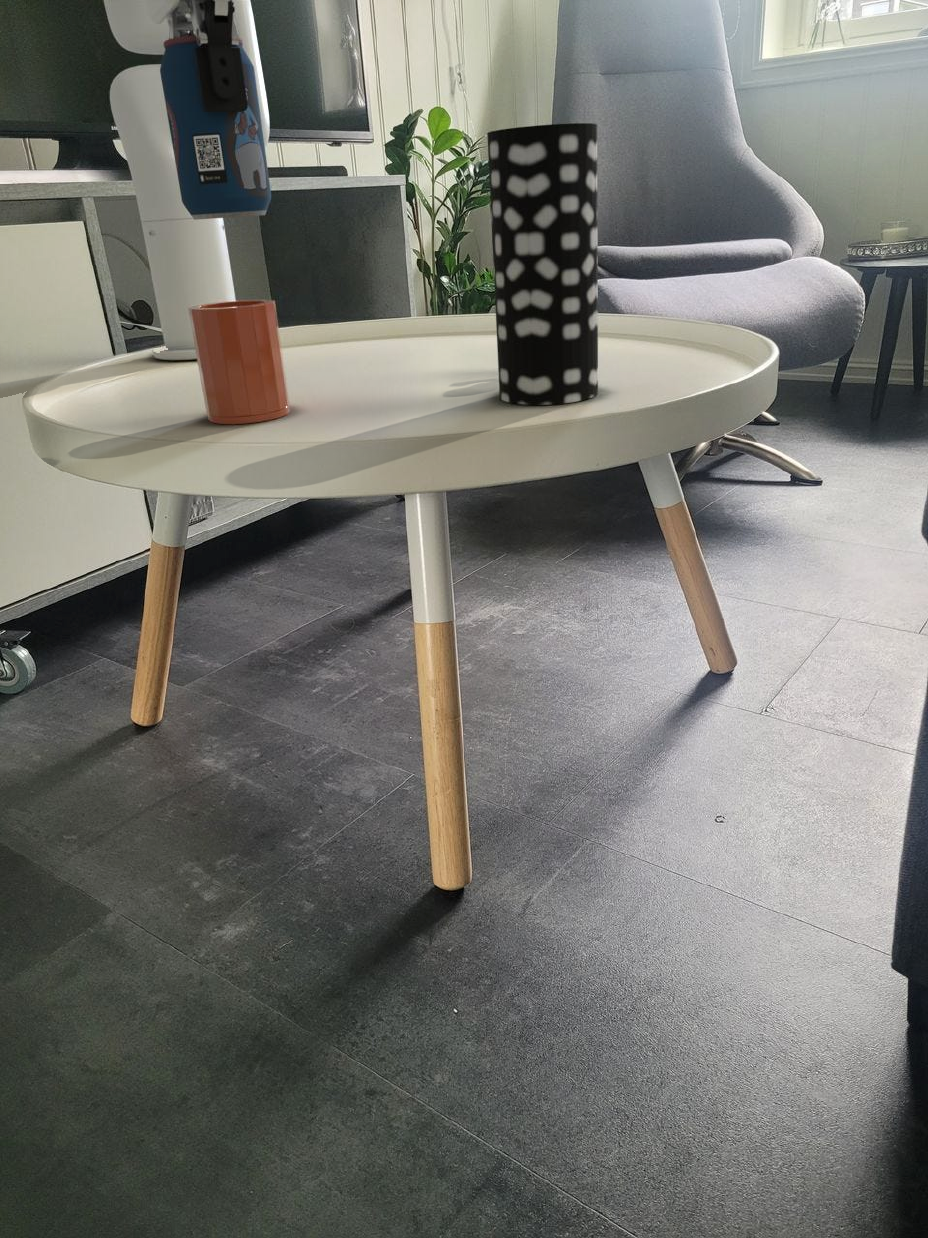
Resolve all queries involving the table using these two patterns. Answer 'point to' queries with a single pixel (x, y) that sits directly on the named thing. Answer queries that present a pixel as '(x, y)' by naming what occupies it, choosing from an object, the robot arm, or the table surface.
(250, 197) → the soda can
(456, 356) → the table surface
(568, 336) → the spotted tube
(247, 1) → the robot arm
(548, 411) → the table surface
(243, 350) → the coffee cup
